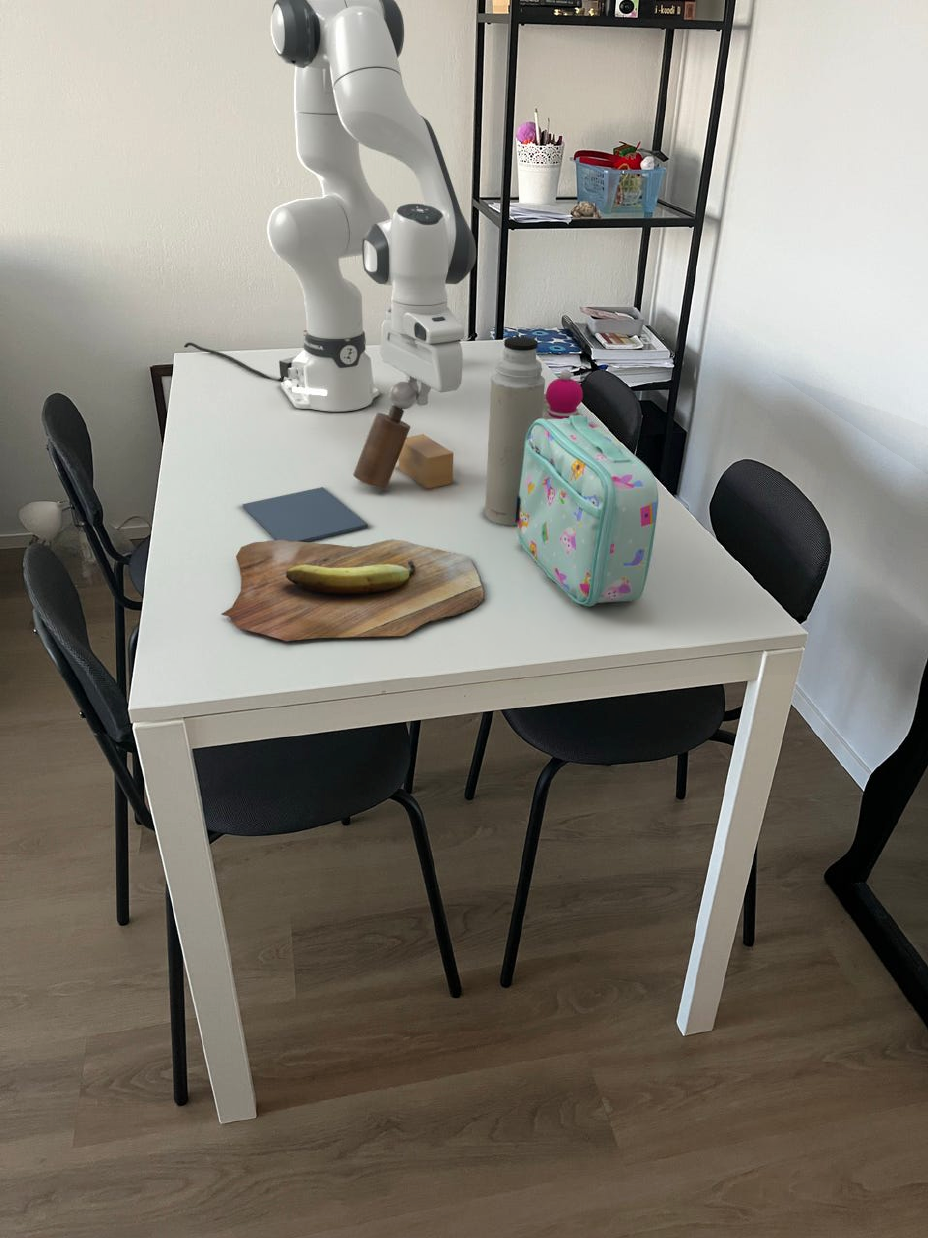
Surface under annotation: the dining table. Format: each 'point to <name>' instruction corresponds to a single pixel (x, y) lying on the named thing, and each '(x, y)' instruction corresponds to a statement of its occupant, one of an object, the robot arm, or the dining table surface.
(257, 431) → the dining table surface
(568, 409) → the pepper mill
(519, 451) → the thermos bottle
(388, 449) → the salt mill
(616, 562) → the lunch box
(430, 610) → the cutting board
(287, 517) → the placemat
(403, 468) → the light wood rectangular block
